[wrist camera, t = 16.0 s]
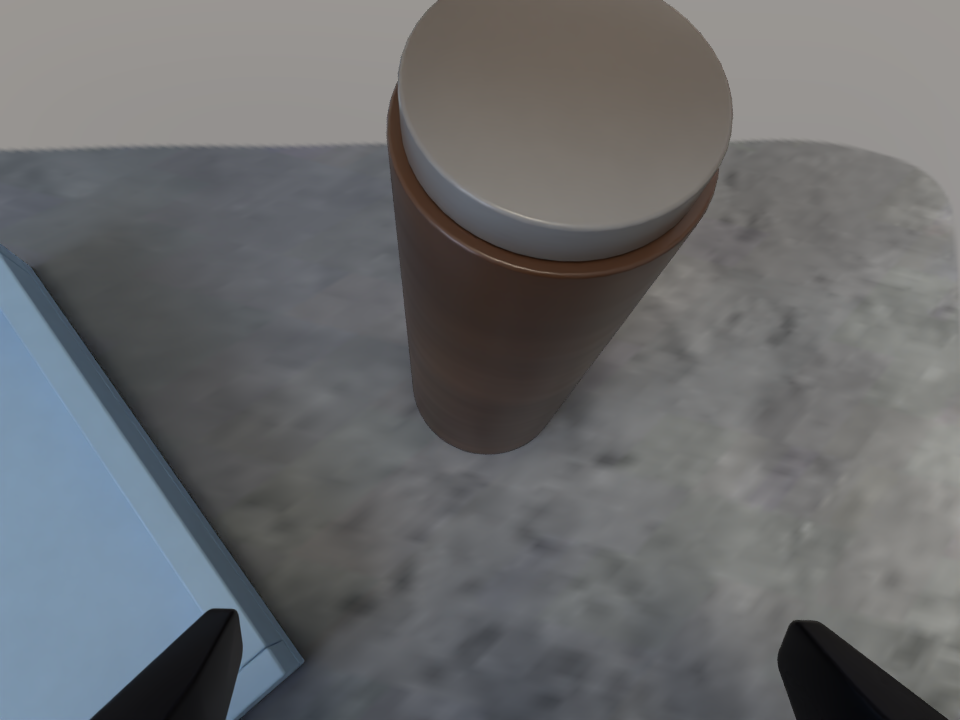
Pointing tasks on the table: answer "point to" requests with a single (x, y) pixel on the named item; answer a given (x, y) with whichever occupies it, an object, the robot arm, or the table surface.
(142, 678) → the robot arm
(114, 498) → the tray
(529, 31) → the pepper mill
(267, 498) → the table surface
